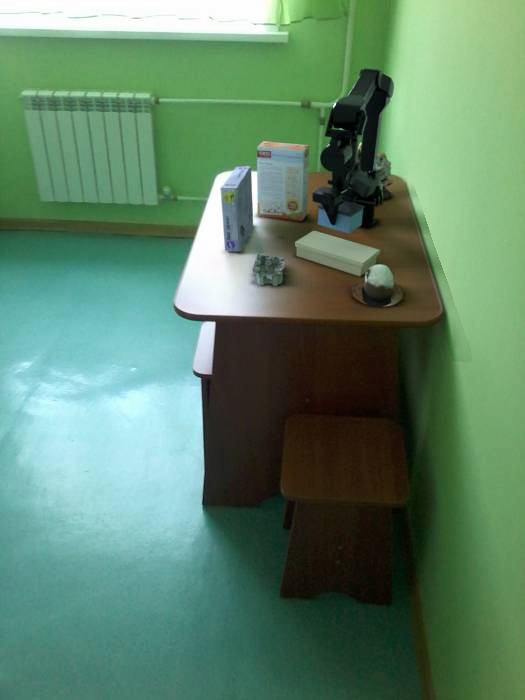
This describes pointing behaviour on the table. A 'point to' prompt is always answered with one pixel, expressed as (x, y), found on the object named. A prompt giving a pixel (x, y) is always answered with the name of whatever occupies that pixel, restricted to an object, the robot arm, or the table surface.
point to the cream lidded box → (337, 252)
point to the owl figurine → (381, 170)
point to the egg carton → (268, 269)
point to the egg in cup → (377, 288)
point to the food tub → (343, 217)
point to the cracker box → (282, 180)
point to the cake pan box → (237, 208)
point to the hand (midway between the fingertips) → (339, 220)
